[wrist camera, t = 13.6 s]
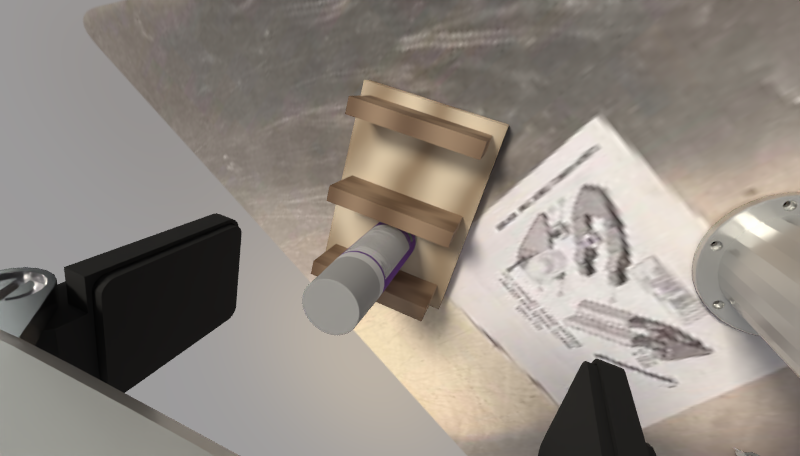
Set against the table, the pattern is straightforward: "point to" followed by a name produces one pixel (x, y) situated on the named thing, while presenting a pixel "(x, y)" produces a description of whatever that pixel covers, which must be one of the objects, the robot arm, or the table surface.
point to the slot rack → (412, 186)
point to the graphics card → (742, 455)
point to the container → (357, 279)
